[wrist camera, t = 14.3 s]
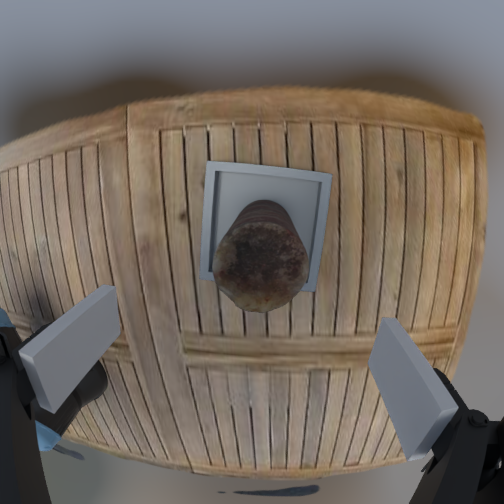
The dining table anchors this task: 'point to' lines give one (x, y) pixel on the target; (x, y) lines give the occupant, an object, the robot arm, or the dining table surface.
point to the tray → (264, 188)
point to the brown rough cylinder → (261, 258)
